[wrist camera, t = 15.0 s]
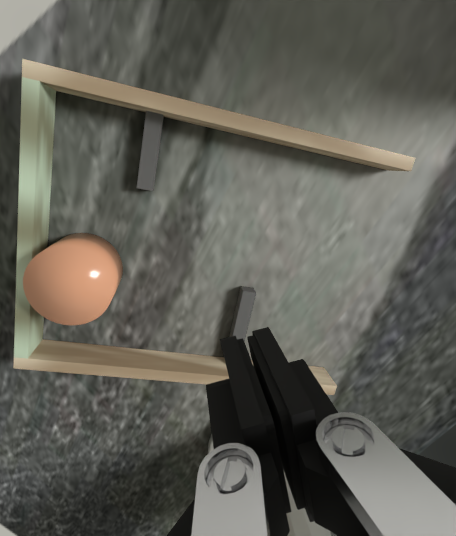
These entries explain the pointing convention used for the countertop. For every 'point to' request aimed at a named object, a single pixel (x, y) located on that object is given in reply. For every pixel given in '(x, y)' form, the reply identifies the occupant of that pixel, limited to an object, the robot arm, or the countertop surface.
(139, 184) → the grey rectangular block
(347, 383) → the countertop surface
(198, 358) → the lane
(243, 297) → the grey long bar
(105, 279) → the orange rounded block
